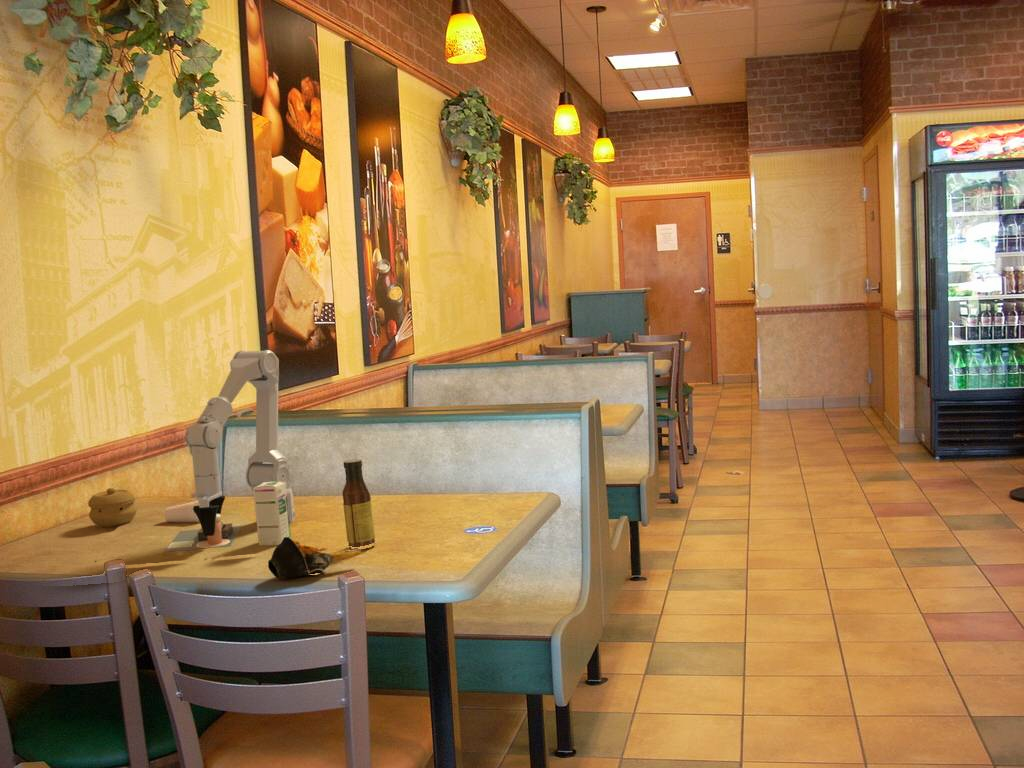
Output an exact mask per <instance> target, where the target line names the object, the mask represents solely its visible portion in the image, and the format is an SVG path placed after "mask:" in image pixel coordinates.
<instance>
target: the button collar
mask: <svg viewBox="0 0 1024 768" xmlns="http://www.w3.org/2000/svg"><path fill="white" fill-rule="evenodd" d="M233 527H234V526H233V523H223V529H221V532H222V539H227V538H229V537H230V535H231V534H232V532H233ZM199 529H200V530H199V532H198V541H203V540H208V537H207V536H204V533H203V530H202V527H201V528H199Z"/></svg>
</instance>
